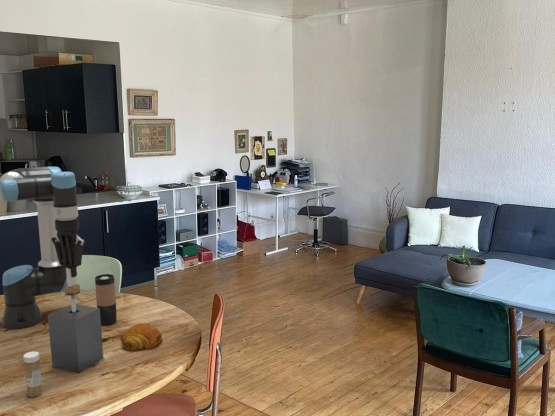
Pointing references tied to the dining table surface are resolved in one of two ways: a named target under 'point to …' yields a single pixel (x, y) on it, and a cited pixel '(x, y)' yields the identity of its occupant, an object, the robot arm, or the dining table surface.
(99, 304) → the travel mug
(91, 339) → the grey peg holder block
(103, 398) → the dining table surface
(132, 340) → the croissant
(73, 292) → the plunger
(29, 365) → the sprinkles bottle
